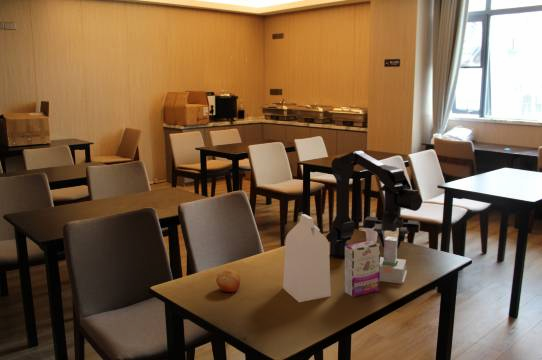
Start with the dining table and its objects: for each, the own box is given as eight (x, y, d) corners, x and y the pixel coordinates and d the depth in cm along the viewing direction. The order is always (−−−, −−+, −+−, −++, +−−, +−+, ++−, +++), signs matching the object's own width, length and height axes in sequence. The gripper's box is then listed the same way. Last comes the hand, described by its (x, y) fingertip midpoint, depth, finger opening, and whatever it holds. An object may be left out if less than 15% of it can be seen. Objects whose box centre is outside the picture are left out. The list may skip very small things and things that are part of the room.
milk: (283, 288, 175) (282, 213, 170) (313, 282, 180) (314, 210, 175) (298, 302, 165) (299, 223, 159) (330, 296, 169) (332, 219, 164)
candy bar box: (370, 285, 177) (371, 239, 174) (379, 291, 173) (381, 243, 169) (343, 292, 172) (344, 244, 169) (352, 297, 168) (353, 249, 164)
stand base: (371, 280, 182) (371, 266, 181) (376, 268, 192) (376, 256, 191) (403, 284, 178) (404, 270, 177) (407, 272, 188) (407, 259, 187)
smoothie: (380, 246, 216) (381, 214, 214) (365, 247, 216) (366, 214, 214) (377, 242, 223) (378, 210, 220) (362, 242, 223) (363, 210, 220)
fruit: (246, 280, 178) (241, 266, 173) (239, 300, 173) (233, 285, 168) (224, 278, 181) (219, 263, 176) (217, 296, 175) (211, 282, 170)
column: (382, 265, 183) (383, 239, 181) (384, 261, 187) (385, 236, 185) (395, 267, 182) (396, 241, 180) (396, 262, 185) (398, 237, 184)
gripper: (361, 208, 176) (360, 252, 179) (418, 213, 169) (416, 258, 172) (367, 200, 186) (365, 242, 189) (421, 205, 180) (418, 248, 183)
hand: (390, 247), depth 183 cm, fingers open, 5 cm apart
